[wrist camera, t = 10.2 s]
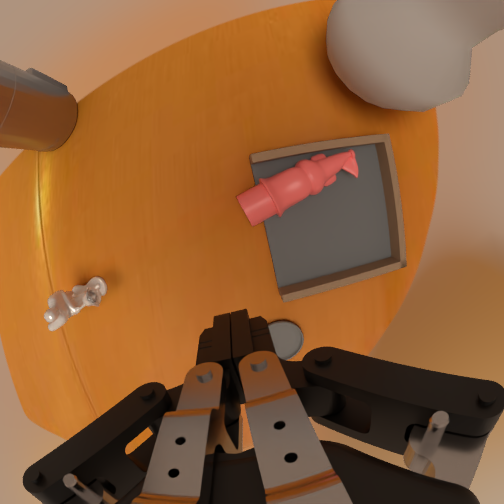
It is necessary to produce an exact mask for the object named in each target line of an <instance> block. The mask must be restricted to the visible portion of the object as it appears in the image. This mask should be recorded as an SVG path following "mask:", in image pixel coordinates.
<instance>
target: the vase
mask: <svg viewBox="0 0 504 504" xmlns="http://www.w3.org/2000/svg"><path fill="white" fill-rule="evenodd" d="M502 29H504V0H337V1H336V2H335V3H334V5H333V7H332V10H331V12H330V15H329V17H328V21H327V35H326V45H327V55H328V58H329V60H330V62H331V65H332V67H333V69H334V71H335V73H336V75H337V76H338V77H339V78H340V79H341V80H342V82H343V83H344V84H345V85H346V86H347V87H348V89H349V90H351V91H352V92H353V93H355V94H356V95H358V96H359V97H360V98H362V99H363V100H364V101H366V102H368V103H371V104H374V105H376V106H379V107H381V108H387V109H396V110H404V111H420V112H424V111H427V110H429V109H431V108H434V107H436V106H439V105H441V104H444V103H446V102H449V101H451V100H453V99H455V98H458V97H460V96H462V94H463V93H464V91H465V89H466V87H467V86H468V84H469V77H470V66H471V55H472V48H473V47H474V46H476V45H477V44H479V43H480V42H482V41H483V40H485V39H486V38H488V37H489V36H491V35H492V34H494V33H495V32H497V31H499V30H502Z"/></svg>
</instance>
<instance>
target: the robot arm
mask: <svg viewBox="0 0 504 504" xmlns="http://www.w3.org/2000/svg"><path fill="white" fill-rule="evenodd" d="M77 111H78V109H77V103H76V100H75V98H74V97H73V95H71V94H70V93H69V92H68V90H67V86H66V85H64V84H62V83H60V82H58V81H56V80H54V79H53V78H51V77H49V76H47V75H45V74H43V73H41V72H39V71H37V70H35V69H33V68H29V69H28V70H26V71H23V70H21V69H19V68H17V67H15V66H12V65H10V64H7V63H5V62H3V61H0V147H4V148H16V149H26V150H36V151H45V152H47V151H52V150H55V149H57V148H58V147H60V146H61V145H62V144H63V143H64V142H65V141H66V140H67V139H68V137H69V136H70V134H71V132H72V131H73V129H74V126H75V123H76V119H77ZM244 403H245V409H246V413H247V418H248V422H249V427H250V431H251V436H252V440H253V444H254V448H252V449H249V450H246V451H244V452H242V438H243V418H242V415H241V407H240V404H244ZM503 410H504V388H503V387H502V386H501V385H500V384H498V383H496V382H494V381H489V380H482V379H475V378H469V377H463V376H457V375H452V374H446V373H441V372H436V371H430V370H425V369H421V368H416V367H411V366H406V365H402V364H397V363H393V362H389V361H385V360H380V359H376V358H372V357H368V356H364V355H360V354H357V353H353V352H349V351H345V350H342V349H338V348H334V347H320V348H316V349H313V350H311V351H310V352H308V353H307V354H306V355H305V356H304V357H303V360H302V361H286V360H283V359H281V358H280V357H278V355H277V354H276V351H275V348H274V344H273V341H272V337H271V334H270V330H269V327H268V323H267V320H265V319H264V318H262V317H261V316H259V317H255V318H251V319H249V315H248V312H247V309H243V310H239V311H235V312H231V314H230V313H226V314H222V315H218V316H214V321H213V327H212V328H208V329H205V330H204V331H203V332H202V334H201V335H200V338H199V345H198V352H197V359H196V366H195V367H193V368H192V369H190V370H189V371H188V373H187V374H186V377H185V380H184V384H182V385H180V386H177V387H175V388H172V389H169V390H166V388H165V386H164V385H163V384H161V383H157V382H151V383H147V384H144V385H142V386H140V387H138V388H137V389H136V390H134V391H133V392H132V393H131V394H129V395H128V396H127V397H125V398H124V399H123V400H121V401H120V402H119V403H117V404H116V405H115V406H113V407H112V408H111V409H110V410H108V411H107V412H106V413H104V414H103V415H102V416H100V417H99V418H97V419H96V420H95V421H93V422H92V423H91V424H89V425H88V426H87V427H85V428H84V429H83V430H81V431H80V432H78V433H77V434H76V435H74V436H73V437H71V438H70V439H69V440H67V441H66V442H64V443H63V444H62V445H60V446H59V447H57V448H56V449H55V450H53V451H52V452H50V453H49V454H47V455H46V456H44V457H43V458H42V459H40V460H39V461H37V462H36V463H34V464H33V465H31V466H30V467H29V468H28V469H27V470H26V471H25V473H24V476H23V485H24V487H25V489H26V490H27V491H28V492H30V493H31V494H32V495H33V496H35V497H36V498H37V499H38V500H40V501H41V502H42V503H43V504H480V503H479V501H478V499H477V497H476V496H475V495H474V494H473V493H472V492H471V491H470V490H469V487H470V485H471V482H472V480H473V478H474V475H475V472H476V470H477V467H478V464H479V462H480V459H481V456H482V453H483V450H484V447H485V443H486V440H487V438H488V436H489V435H490V433H491V431H492V430H493V428H494V426H495V424H496V423H497V421H498V419H499V417H500V415H501V414H502V412H503ZM308 417H312V419H313V420H314V421H315V422H317V423H318V424H321V425H323V426H325V427H328V428H330V429H332V430H335V431H337V432H339V433H342V434H344V435H347V436H349V437H352V438H355V439H357V440H360V441H362V442H365V443H368V444H371V445H373V446H376V447H379V448H382V449H385V450H388V451H391V452H394V453H397V454H401V455H404V457H403V458H404V463H405V465H406V466H407V467H408V468H409V469H410V470H411V471H410V470H407V469H404V468H401V467H398V466H396V465H393V464H390V463H388V462H385V461H383V460H380V459H377V458H375V457H373V456H370V455H368V454H365V453H363V452H361V451H358V450H356V449H354V448H351V447H349V446H347V445H344V444H340V443H336V442H331V441H323V440H319V439H318V437H317V435H316V433H315V430H314V428H313V426H312V424H311V422H310V420H309V418H308ZM147 427H149V429H150V430H151V431H152V433H153V435H151V436H150V437H149V438H148V439H147V440H146V441H145V442H143V443H142V444H141V445H140V446H139V447H137V448H136V449H135V450H134V451H133V452H132V453H130V454H127V455H126V453H125V448H126V446H127V444H128V443H129V442H131V441H132V440H133V439H134V438H135V437H137V436H138V435H139V434H140V433H141V432H143V431H144V430H145V429H146V428H147ZM413 471H414V472H413Z"/></svg>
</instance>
